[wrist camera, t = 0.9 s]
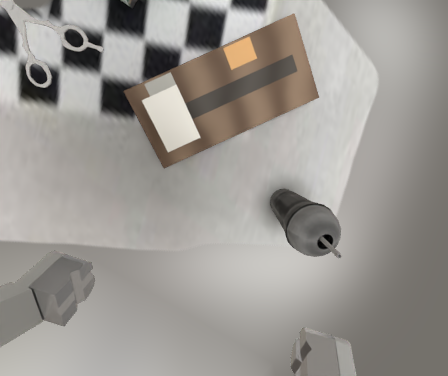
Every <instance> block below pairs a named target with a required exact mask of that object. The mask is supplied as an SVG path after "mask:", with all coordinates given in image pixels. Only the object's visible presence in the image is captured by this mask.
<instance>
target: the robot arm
mask: <svg viewBox="0 0 448 376" xmlns="http://www.w3.org/2000/svg"><path fill="white" fill-rule="evenodd" d="M92 269H93V266H92V263H91V262H89V261H86V260H83V259H79V258H76V257H73V256H70V255H67V254H65V253H61V252H58V251H52V252H50V253H48V254H47V255H46V256H45V257H44V258H42V259H41V260H40V261H39V262H38V263H37V264H36V265H35V266H33V268H31V269H30V270H29V271H28V272H27V273H25V274H24V275H23V276H22V277H21V278H20V279H19V280H17V282H15V283H13V282H10V283H8V284H5V285H2V286H0V347H1V346H3V345H5V344H7V343H8V342H10V341H11V340H13V339H15V338H17V337H18V336H20V335H21V334H23V333H25V332H26V331H28V330H30V329H31V328H33V327H35V326H36V325H38V324H40V323H41V322H43V320H45V321H48V322H51V323H54V324H58V325H61V326H65V325H66V324H67V322H68V321H69V320H70V319H71V317H72V316H73V315H74V314H75V312H76V311H77V304H78V303H80V302H82V301H84V300H86V298H87V297H88V296H89V294H90V293H91V291H92V289H93V286H94V282H95V278H94V275H93V274H92V273H91V272H90V271H91V270H92ZM291 369H292V371H293V373H294V376H356V371H355V366H354V361H353V356H352V350H351V345H350V343H349V341H347V340H345V339H341V338H337V337H334V336H332V335H329V334H325V333H322V332H319V331H315V330H311V329H308V328H305V327H304V328H302V329H301V331H300V338H298V339H296V340H295V343H294V344H293V348H292V352H291Z"/></svg>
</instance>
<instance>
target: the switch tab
mask: <svg viewBox="0 0 448 376" xmlns="http://www.w3.org/2000/svg"><path fill="white" fill-rule="evenodd" d="M142 102H143V104H144V106H145V108H146V110H147V112H148V114H149V116H150V118H151V120H152V122H153V124H154V126H155V128H156V130H157V132H158V134H159V136H160V138H161V139H162V141H163V143H164V145H165V147H166V149H167V151H168V152H170V151H172V150H174V149H177V148H179V147H181V146H183V145H185V144H188V143H190V142H192V141H194V140H196V139H198V138H201V137H200V135H199V133H198V131H197V128H196V126H195V124H194V122H193V120H192V117H191V115H190V113H189V111H188V109H187V107H186V104H185V102H184V100H183V98H182V96H181V93H180V91H179V89H178V87H177V85H174V86H172V87H170V88H168V89H166V90H163V91H161V92H159V93H157V94H155V95H152V96H150V97H148V98H146V99H144V100H142Z"/></svg>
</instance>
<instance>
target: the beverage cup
mask: <svg viewBox="0 0 448 376" xmlns="http://www.w3.org/2000/svg"><path fill="white" fill-rule="evenodd" d="M270 205H271V208H272V209H273V212H274V213H275V215H276V217H277V219H278V220H279V222H280V224H281V225H282V227H283V229H284V231H285V234H286V238H287V241H288V243H289V244H290V245H291V246H292V247H293V248H295V249H296V250H297V251H299V252H301V253H303V254H304V255H308V256H314V257H317V256H323V255H326V254H328V253H330V252H332V253H334V254H335V256H336V257H338V258H341V257H342V255H341V254H340V253H339V252H338V251H337V250H336V249H335V247H336V246H337V245H338V242H339V240H340V235H341V228H340V225H339V222H338V220H337V218H336V217H335V215H334V214H333V213H332V211H331V210H330V209H329V208H328V207H326V206H325V205H322V204H318V203H314V202H311V201H309V200H307V199H306V198H304V197H302V196H300V195H298V194H296V193H294V192H292V191H289V190H287V189H280V190H278V191H276V192H275V193H274V194H273V195H272V197H271V200H270Z"/></svg>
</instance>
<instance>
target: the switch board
mask: <svg viewBox="0 0 448 376" xmlns="http://www.w3.org/2000/svg"><path fill="white" fill-rule="evenodd" d="M174 85H177V87H178V89H179V91H180V93H181V96H182V98H183V100H184V102H185V104H186V107H187V109H188V111H189V113H190V115H191V117H192V120H193V122H194V124H195V126H196V128H197V131H198V133H199V135H200V137H201V138H198V139H196V140H194V141H192V142H190V143H188V144H185V145H183V146H181V147H179V148H177V149H174V150H172V151H170V152H168V151H167V149H166V147H165V145H164V143H163V141H162V139H161V138H160V136H159V134H158V132H157V130H156V128H155V126H154V124H153V122H152V120H151V118H150V116H149V114H148V112H147V110H146V108H145V106H144V104H143V102H142V100H144V99H146V98H148V97H150V96H152V95H155V94H157V93H159V92H161V91H163V90H166V89H168V88H170V87H172V86H174ZM124 93H125V95H126V97H127V99H128V101H129V103H130V105H131V106H132V108H133V110H134V112H135V114H136V116H137V118H138V120H139V122H140V124H141V126H142V127H143V129H144V131H145V133H146V135H147V137H148V139H149V141H150V143H151V145H152V147H153V149H154V150H155V152H156V154H157V156H158V158H159V160H160V162H161V164H162V166H163V168H166V167H168V166H170V165H172V164H175V163H177V162H179V161H181V160H183V159H186V158H188V157H190V156H192V155H194V154H196V153H199V152H201V151H203V150H205V149H207V148H210V147H212V146H214V145H216V144H218V143H220V142H223V141H225V140H227V139H229V138H231V137H234V136H236V135H238V134H240V133H242V132H245V131H247V130H249V129H251V128H253V127H255V126H258V125H260V124H262V123H264V122H266V121H269V120H271V119H273V118H275V117H277V116H279V115H282V114H284V113H286V112H288V111H290V110H293V109H295V108H297V107H299V106H301V105H304V104H306V103H308V102H310V101H312V100H314V99H317V98H319V95H318V92H317V89H316V85H315V82H314V78H313V75H312V71H311V68H310V65H309V61H308V58H307V54H306V51H305V48H304V44H303V41H302V37H301V34H300V31H299V27H298V24H297V20H296V17H295V14H292V15H290V16H287V17H285V18H283V19H281V20H279V21H276V22H274V23H272V24H270V25H268V26H265V27H263V28H261V29H259V30H257V31H254V32H252V33H250V34H248V35H246V36H243V37H241V38H239V39H237V40H235V41H232V42H230V43H228V44H226V45H224V46H222V47H219V48H217V49H215V50H213V51H211V52H208V53H206V54H204V55H202V56H200V57H197V58H195V59H193V60H191V61H189V62H186V63H184V64H182V65H180V66H178V67H175V68H173V69H171V70H169V71H167V72H164V73H162V74H160V75H158V76H156V77H154V78H151V79H149V80H147V81H145V82H143V83H140V84H138V85H136V86H134V87H132V88H129V89H127V90H125V91H124Z"/></svg>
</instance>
